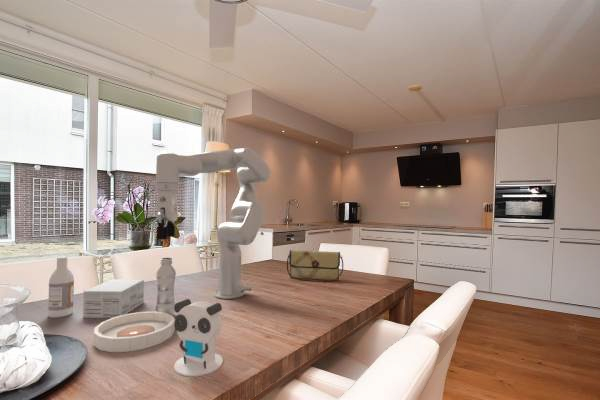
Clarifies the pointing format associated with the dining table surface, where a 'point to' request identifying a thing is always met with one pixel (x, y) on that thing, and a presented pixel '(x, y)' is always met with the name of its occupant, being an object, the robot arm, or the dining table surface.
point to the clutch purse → (314, 265)
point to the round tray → (133, 331)
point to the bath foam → (61, 290)
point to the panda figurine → (197, 337)
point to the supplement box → (113, 298)
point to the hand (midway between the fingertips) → (165, 237)
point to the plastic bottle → (165, 287)
